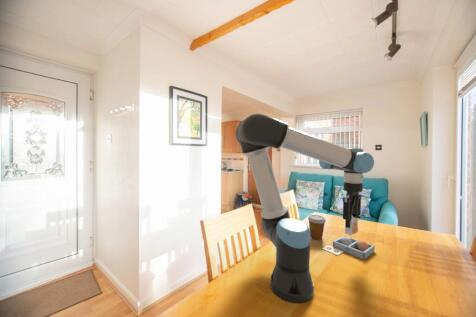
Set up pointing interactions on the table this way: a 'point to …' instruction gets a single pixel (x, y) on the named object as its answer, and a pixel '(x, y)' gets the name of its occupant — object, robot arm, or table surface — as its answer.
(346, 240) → the ball grey
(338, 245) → the rack
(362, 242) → the terracotta ball
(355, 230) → the terracotta ball
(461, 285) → the table surface
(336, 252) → the tile
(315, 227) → the disposable coffee cup
